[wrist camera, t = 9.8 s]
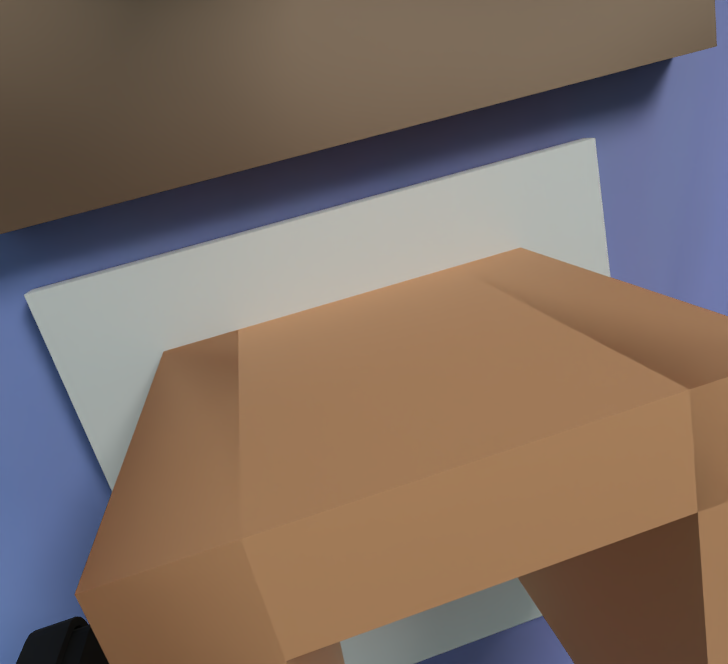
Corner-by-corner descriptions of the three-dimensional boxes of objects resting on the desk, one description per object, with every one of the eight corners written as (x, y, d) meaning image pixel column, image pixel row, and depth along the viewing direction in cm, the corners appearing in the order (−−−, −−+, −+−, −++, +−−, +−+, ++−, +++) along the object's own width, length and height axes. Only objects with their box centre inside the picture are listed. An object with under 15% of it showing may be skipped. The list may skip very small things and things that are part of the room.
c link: (163, 351, 10) (75, 594, 5) (520, 247, 11) (818, 346, 5) (278, 656, 12) (314, 1068, 7) (568, 552, 13) (813, 847, 8)
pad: (31, 289, 10) (24, 294, 10) (582, 138, 11) (594, 138, 11) (221, 718, 13) (221, 735, 13) (632, 566, 14) (643, 578, 14)
